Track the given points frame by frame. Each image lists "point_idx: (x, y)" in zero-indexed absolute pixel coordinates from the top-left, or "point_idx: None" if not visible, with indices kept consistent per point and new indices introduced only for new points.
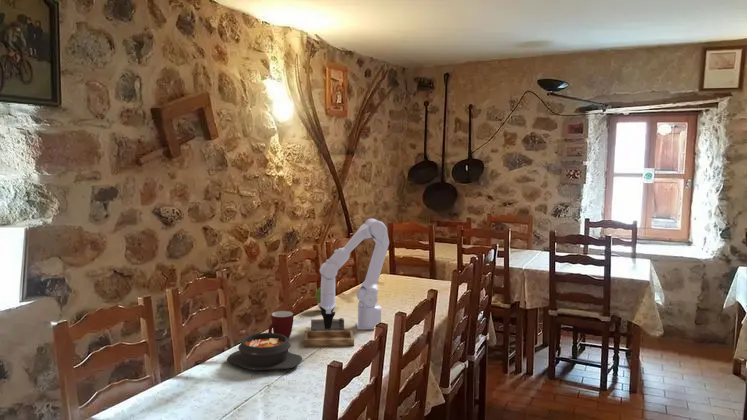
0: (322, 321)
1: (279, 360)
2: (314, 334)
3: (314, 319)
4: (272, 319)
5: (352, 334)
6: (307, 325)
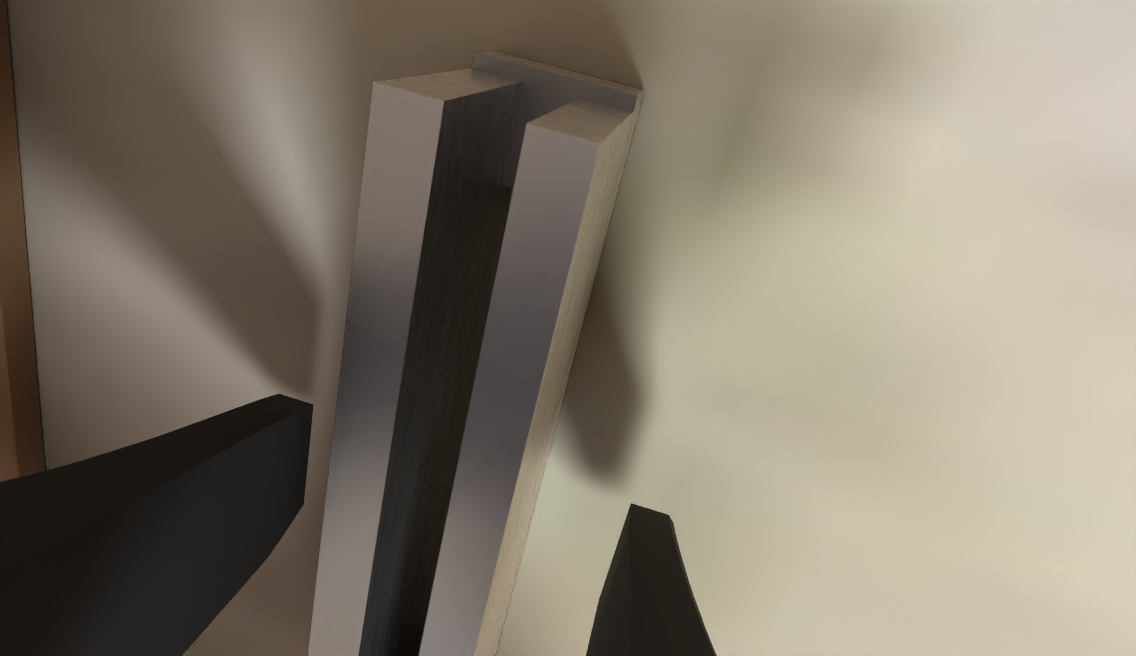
0: (338, 457)
1: None
2: None
3: (562, 274)
4: None
5: None
6: (1043, 92)
